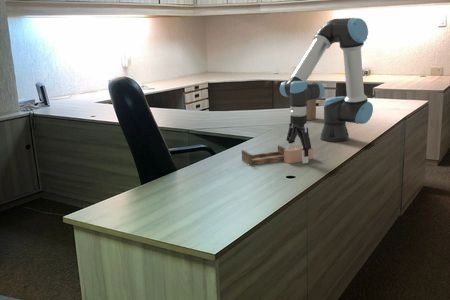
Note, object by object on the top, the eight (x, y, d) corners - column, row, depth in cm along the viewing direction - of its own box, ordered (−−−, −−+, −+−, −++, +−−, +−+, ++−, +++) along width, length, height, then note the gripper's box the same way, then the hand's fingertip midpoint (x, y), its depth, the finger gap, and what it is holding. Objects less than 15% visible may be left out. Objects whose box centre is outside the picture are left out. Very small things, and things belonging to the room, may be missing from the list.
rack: (279, 155, 240) (279, 145, 238) (288, 160, 231) (288, 149, 229) (241, 160, 233) (241, 150, 232) (250, 165, 224) (249, 155, 223)
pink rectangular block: (307, 157, 235) (307, 145, 234) (312, 159, 232) (313, 146, 230) (284, 162, 228) (284, 149, 227) (289, 164, 225) (289, 151, 224)
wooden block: (316, 118, 328) (316, 88, 323) (310, 120, 320) (310, 90, 315) (302, 117, 333) (302, 88, 328) (296, 119, 325) (296, 90, 320)
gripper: (279, 111, 235) (279, 154, 240) (304, 120, 212) (304, 167, 218) (293, 110, 237) (293, 152, 242) (319, 118, 215) (318, 165, 220)
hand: (298, 159), depth 230 cm, fingers open, 12 cm apart
